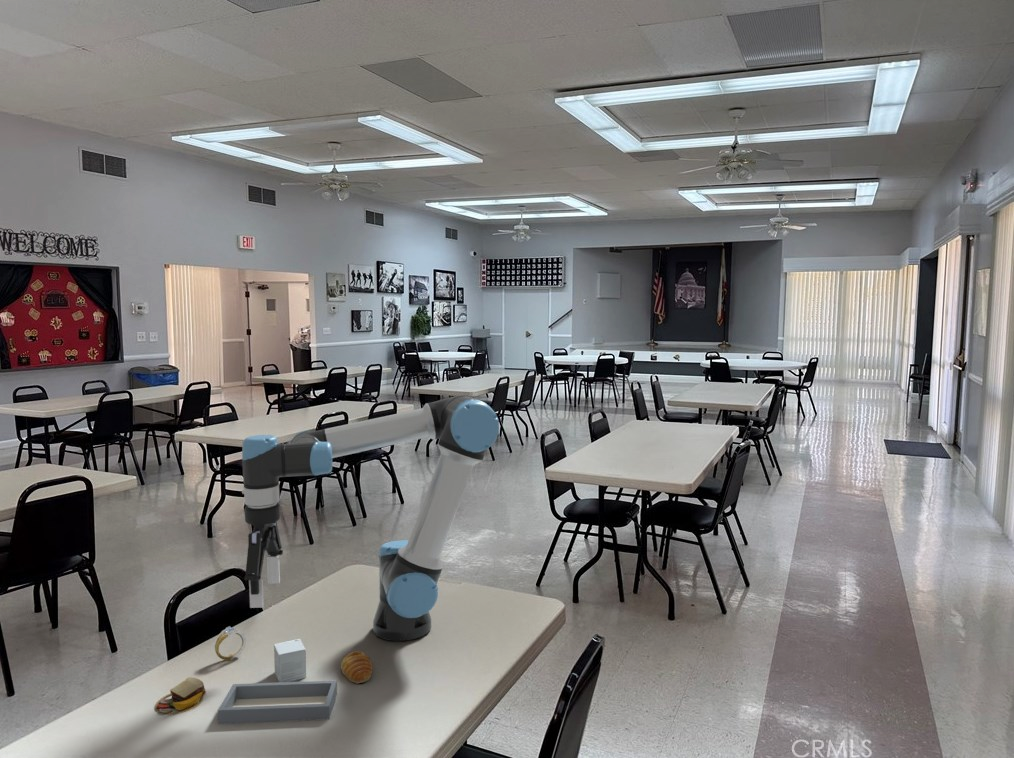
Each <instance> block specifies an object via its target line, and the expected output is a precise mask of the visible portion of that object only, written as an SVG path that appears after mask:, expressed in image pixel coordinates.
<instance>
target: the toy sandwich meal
mask: <svg viewBox="0 0 1014 758" xmlns="http://www.w3.org/2000/svg"><path fill="white" fill-rule="evenodd" d="M169 691H170V693H169V694H166V695H164V696H163V697H161V698H159V699H158V700H157V702H156V703H155V705H154V710H155V712H157V713H158V714H160V713H161V715H166V716H167V715H171V716H172V715H178V714H183V713H187V712H189V711H191V710H193V709H196V708H197V707H198V706H200V705H201V703H202V702H204V695H206V693H207V692H206V688H205V685H204V682H203V681H202V680H200V679H198V678H196V677H192V676H191V677H187V678H186V679H184V680H182V682H180V683H178V684H177V685H175V686H174V687H172V688H170V690H169ZM170 697H171V698H170ZM175 709H176V710H178V711H177V712H175Z"/></svg>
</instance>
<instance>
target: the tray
mask: <svg viewBox="0 0 1014 758" xmlns="http://www.w3.org/2000/svg"><path fill="white" fill-rule="evenodd" d="M337 696H338V680H315V681H314V680H313V681H311V680H310V681H309V680H308V681H290V682H280V683H279V682H257V683H253V682H252V683H233V684H232V685H231V687H230V689H229V690H228V692H227V694H226V696H225V697H224V699H223V700H222V702H221V704H220V706H219V707H218V709H217V723H218V725H227V724H232V725H233V724H249V723H250V724H251V723H271V722H272V723H275V722H276V723H277V722H296V721H297V722H300V721H318V720H319V721H320V720H322V721H323V720H330V719H331V716H332V712H333V710H334V706H335V702H336V698H337Z"/></svg>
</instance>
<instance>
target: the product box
mask: <svg viewBox="0 0 1014 758" xmlns="http://www.w3.org/2000/svg"><path fill="white" fill-rule="evenodd" d="M273 652H274V653H273V655H274V658H273V659H274V675H275V676H276V678H277V681H278V683H280V682H295V681H297V680H301V679H306V678H307V649H306V648H305V646H304V643H303V642H302V640H301V638H296V639H292V640H288V641H287V640H286V641H283V642H277V643H274V644H273Z"/></svg>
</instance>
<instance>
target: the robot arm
mask: <svg viewBox="0 0 1014 758" xmlns="http://www.w3.org/2000/svg"><path fill="white" fill-rule="evenodd" d="M499 421H500V420H499V418H498V416H497V413H496V412H495V410H494V409H493V408H492V407H491V406H490V405H489V404H487V403H486V402H484V401H482V400H479V399H477V398H476V397H473V396H470V395H468V394H467V395H466V394H461V395H460V394H459V395H455V396H451V397H448V398H444V399H439V400H437V401H433V402H427V403H426V402H425V404H424V405H423V407H422V408H417V409H413V410H408V411H404V412H398V413H395V414H390V415H385V416H380V417H375V418H370V419H366V420H361V421H357V422H351V423H347V424H342V425H337V426H333V427H327V428H323V429H319V430H314V431H310V430H303V431H300V432H298V433H296V434H295V435H294V436H293V438H292V439H291V441H290V443H279V441H278V438H277V437H276V436H275V435H272V434H257V435H251V436H248V437H246V438H244V440H243V441H242V447H241V448H242V455H241V456H242V458H241V460H242V461H241V463H242V465H241V466H242V478H243V489H242V490H241V493H242V495H244V498H243V500H244V504H245V506H244V521H245V523H246V524H248V525H251V526H253V530H252V532H251V533H250V532H249V533H248V535H247V536H248V537H247V538H248V539H247V540H248V546H247V553H246V554H247V556H246V564H245V573H244V574H245V575H244V581H248V587H249V588H248V589H249V590H248V591H249V608H250V609H252V608H253V609H255V608H260V609H261V608H262V609H263V608H264V606H265V605H264V604H265V603H264V584H263V583H264V582H263V580H264V579H263V577H262V573H263V564H264V559H265V553H267V556H266V575H267V584H269V585H270V584H280V583H281V576H280V575H281V573H280V569H281V567H280V556H282V555H283V553H284V552H283V551H284V550H283V549H282V543H281V538H280V537H281V536H280V534H279V533H280V532H279V529H278V521H279V520H280V519H281V506H280V503H279V502H280V484H279V483H280V481H279V479H280V478H287V477H305V476H306V477H307V476H316V477H317V476H319V475H328V474H330V473H331V472H332V471H333V459H335V458H338V457H339V458H340V457H343V456H348V455H352V454H359V453H362V452H366V451H370V450H375V449H379V448H384V447H389V446H393V445H398V444H403V443H407V442H412V441H416V440H422V439H425V438H430V439H431V440H438V439H439V440H438V443H437V447H438V448H439V451H440V455H439V458H438V460H437V463H436V466H435V468H434V471H433V474H432V476H431V479H430V481H429V485H428V487H427V490H426V492H425V495H424V497H423V498H424V499H423V501H422V503H421V506H420V509H419V511H418V515H417V518H416V519H415V521H414V522H415V523H414V525H413V528H412V530H411V533H410V536H409V538H408V539H406V540H405V539H401V540H393V541H388V542H386V543H383V544H381V546H380V547H379V551H378V558H379V560H378V562H379V567H378V569H379V602H378V605H377V609H376V612H375V615H374V618H373V621H372V622H373V623H372V628H373V629H372V631H373V634H374V635H376V636H377V637H378V638H381V639H383V640H387V641H394V642H395V641H396V642H399V641H400V642H402V641H403V642H404V641H409V640H414V639H418V638H421V637H423V636H425V635H426V634H428V633H429V632H430V630H432V629H431V628H432V617H431V613H430V612H431V610H432V609H433V608H434V606H435V604H436V603H437V600H438V598H439V597H438V596H439V592H438V591H439V587H438V581H439V579H440V576H441V573H442V571H443V567H444V563H443V561H442V560H441V555H442V553H443V551H444V547H445V545H446V543H447V539H448V537H449V534H450V531H451V530H452V529H451V528H452V526H453V523H454V521H455V517H456V515H457V512H458V510H459V507H460V505H461V502H462V499H463V495H464V494H465V490H466V489H467V486H468V483H469V480H470V477H471V475H472V472H473V469H474V467H475V465H477V464H479V463H481V462H483V460H484V457H485V454H486V452H487V450H488V449H489V448H490V447H492V446H493V445H494V444H495V442H496V440H497V438H498V436H499V433H500V422H499Z"/></svg>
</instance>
